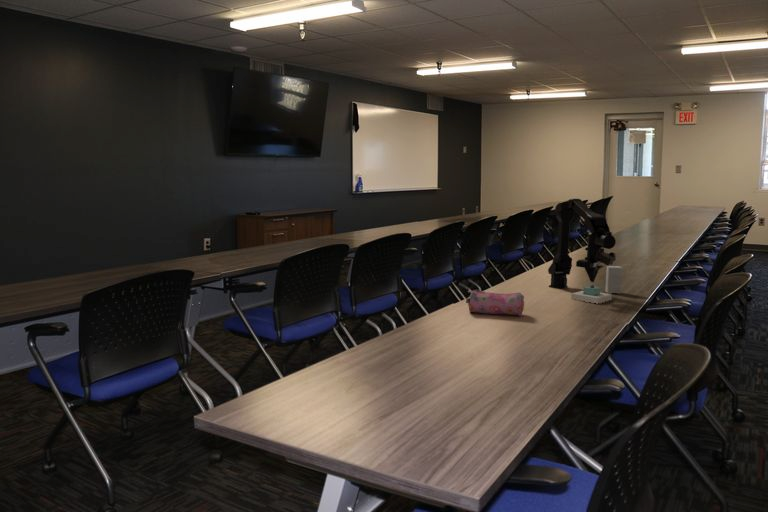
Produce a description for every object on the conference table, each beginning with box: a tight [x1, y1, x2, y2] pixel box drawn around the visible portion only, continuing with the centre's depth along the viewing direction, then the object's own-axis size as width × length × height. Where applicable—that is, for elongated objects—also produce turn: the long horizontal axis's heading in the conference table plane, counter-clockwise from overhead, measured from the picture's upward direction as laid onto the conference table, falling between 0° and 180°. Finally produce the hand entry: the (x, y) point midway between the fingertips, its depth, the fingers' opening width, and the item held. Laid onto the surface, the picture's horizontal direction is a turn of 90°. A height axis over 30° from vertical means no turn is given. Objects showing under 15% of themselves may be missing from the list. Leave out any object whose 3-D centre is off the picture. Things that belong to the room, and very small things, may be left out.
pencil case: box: [465, 289, 525, 317], centre depth 232 cm, size 21×9×9 cm, turn 73°
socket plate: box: [570, 290, 613, 305], centre depth 260 cm, size 12×12×2 cm
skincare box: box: [604, 265, 623, 295], centre depth 274 cm, size 6×4×12 cm
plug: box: [582, 284, 601, 296], centre depth 259 cm, size 5×5×6 cm
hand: (592, 281), depth 259 cm, fingers closed
